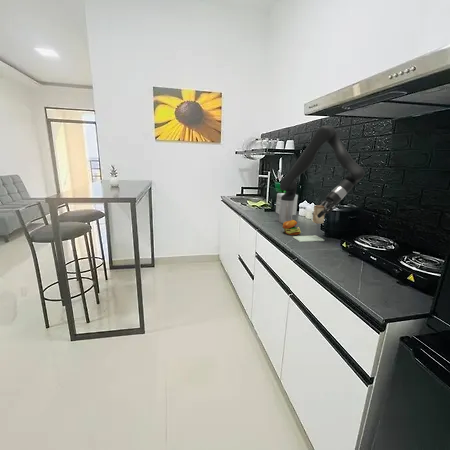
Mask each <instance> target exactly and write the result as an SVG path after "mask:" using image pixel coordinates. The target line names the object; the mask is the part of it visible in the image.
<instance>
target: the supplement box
mask: <svg viewBox="0 0 450 450" xmlns="http://www.w3.org/2000/svg"><path fill="white" fill-rule="evenodd" d="M285 193H286V192H282V193H281V192H278V193H276V201H275V202H276V204H275V205H276V206H275V213H276V214H278V215H279V210H280V208H281V197H282V195H284V194H285ZM298 198H299V194H296V196H295V198H294V205H293V216H296V215H297V209H298Z"/></svg>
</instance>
